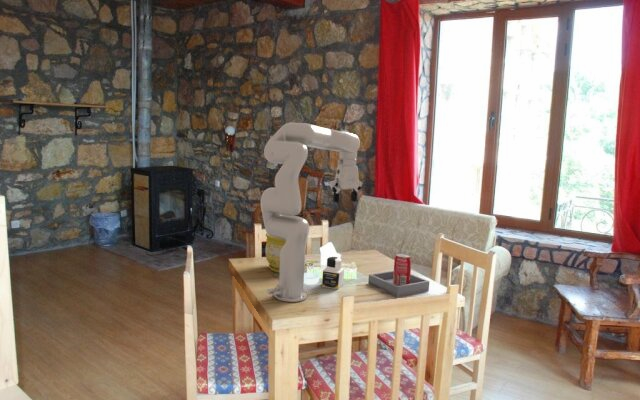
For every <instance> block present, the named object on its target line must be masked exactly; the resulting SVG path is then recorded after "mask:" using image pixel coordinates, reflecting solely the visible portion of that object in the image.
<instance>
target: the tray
mask: <svg viewBox="0 0 640 400" xmlns="http://www.w3.org/2000/svg"><path fill="white" fill-rule="evenodd" d="M393 274H394V270H389V271H383V272H376V273H370V274H368V283H367V284H368V285H371V286H373V287H375V288H377V289H379V290H381V291H384V292H386V293H387V294H390V295H393V296H395V297H396V298H397V297H402V296H407V295H412V294H417V293H422V292H423V293H424V292H428V291H429V289H430V281H429V280H427V279H425V278H422V277H420V276H417V275H415V274H412V273H411V274H410V284H406V285H401V286H397V285H394V283H393ZM427 290H428V291H427Z"/></svg>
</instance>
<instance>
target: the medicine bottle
mask: <svg viewBox="0 0 640 400" xmlns="http://www.w3.org/2000/svg"><path fill="white" fill-rule="evenodd" d="M342 261H343V260H342V258H340V257H337V256H330V257H327V259H326V268H325V269H323V270H322V280H321V284H322V285H321V287H322V288H328V289H333V290H339V289H340V288H341V287H343V285H344V277H345V268H342Z"/></svg>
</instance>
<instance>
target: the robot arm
mask: <svg viewBox="0 0 640 400" xmlns="http://www.w3.org/2000/svg"><path fill="white" fill-rule="evenodd" d="M360 147H361V141H360V138H359V136H358V135H357V134H354V133H350V132H346V131H342V130H335V129H332V128H328V127H323V126H319V125H315V124H311V123H306V122H305V123H304V122H287V123H285V124H283V125H282V126H281V127H280V128H279V129H278V130H277V131H276V132H275V133H274V134H273V135H272V136H271V137H270V139H269V140H268V141H267V142H266V144H265V146H264V149H263V154H264V158H265V159H266V160H267V161H268V162H269V163H271V164H272V163H273V164H280V165H281V164H282V166H281V167H280V168H279V170H278V171H277V172H276V174H275V178H274V187H268V188H266V189H264V191H263V192H262V194H261V197H260V210H261V215H262V221H263V225H264V229H265V231H266V233H268V235H270V236H272V237H275V238H280V239H284V240H286V243H285V244H284V246H283V247H282V249H281V252H280V270H279V273H278V274H279V277H278V284H276V285H275V287H273V288H269V289H266V294H267V295H272V294H273V297H274V298H275V299H276V300H279V301H281V302H288V303H294V302H295V303H296V302H302V301H305V300H306V299H307V297H308V294H307V293H306V292H305V291H304V284H305V283H304V281H305V264H306V263H305V261H306V248H307V243H308V238H309V233H310V224H309V222H308V220H307V219H305V217H304V218H303V217H300V216H298V215H299V214H300V213H301V211H302V207H303V206H302V197H301V190H300V184H299V183H300V182H299V177H300V172H301V171H302V168H303V166H304V165H305V163H306V161H307V159H308V155H309V152H308V151H309V150H308V148H314V149H318V150H325V151H327V150H328V151H333V152H334V151H335V152H339V158H338V160H336V161H337V164H338V165H337V167H336V172H335V177H334V178H335V179H334V180H332V181H331V182H329V186H330V187H329V188H330V190H331V192H332V193H333V199H332V200H333V202H334V203H336V204H337V203H340V191H341V190H351V194H350V195H351V197H350V201H351V202H355V203H356V202H357V200H358V193H359V191H360V190H361V189H362V186H363V182H362V181H361V180H360V179H359V175H360V174H359V167H358V166H357V159H358V150H359V149H360Z"/></svg>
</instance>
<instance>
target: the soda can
mask: <svg viewBox="0 0 640 400" xmlns="http://www.w3.org/2000/svg"><path fill="white" fill-rule="evenodd" d="M412 260H413V259H412V255H410V254H409V253H402V252H401V253H396V254H395V257H394V261H393V271H394V274H393V283H394V285H397V286H401V285H406V284H410V274H412V273H411V271H412Z"/></svg>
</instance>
